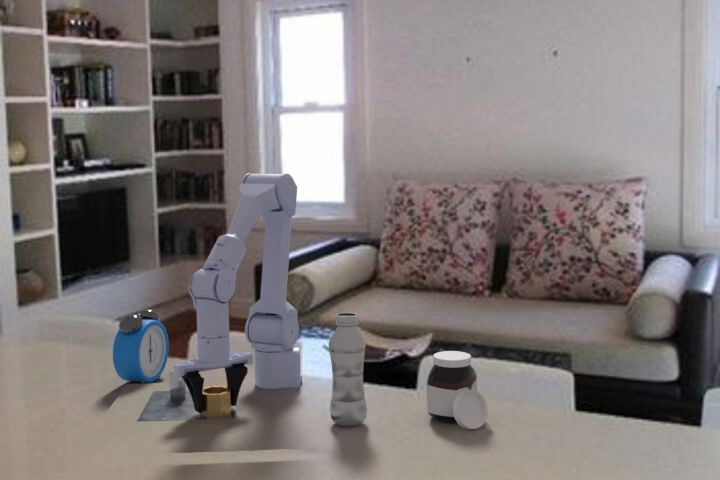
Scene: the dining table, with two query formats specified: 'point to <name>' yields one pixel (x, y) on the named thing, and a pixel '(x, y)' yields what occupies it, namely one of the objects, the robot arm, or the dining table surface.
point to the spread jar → (455, 391)
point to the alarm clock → (140, 347)
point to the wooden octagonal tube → (216, 401)
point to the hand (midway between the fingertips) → (215, 407)
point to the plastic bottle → (347, 372)
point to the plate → (174, 404)
